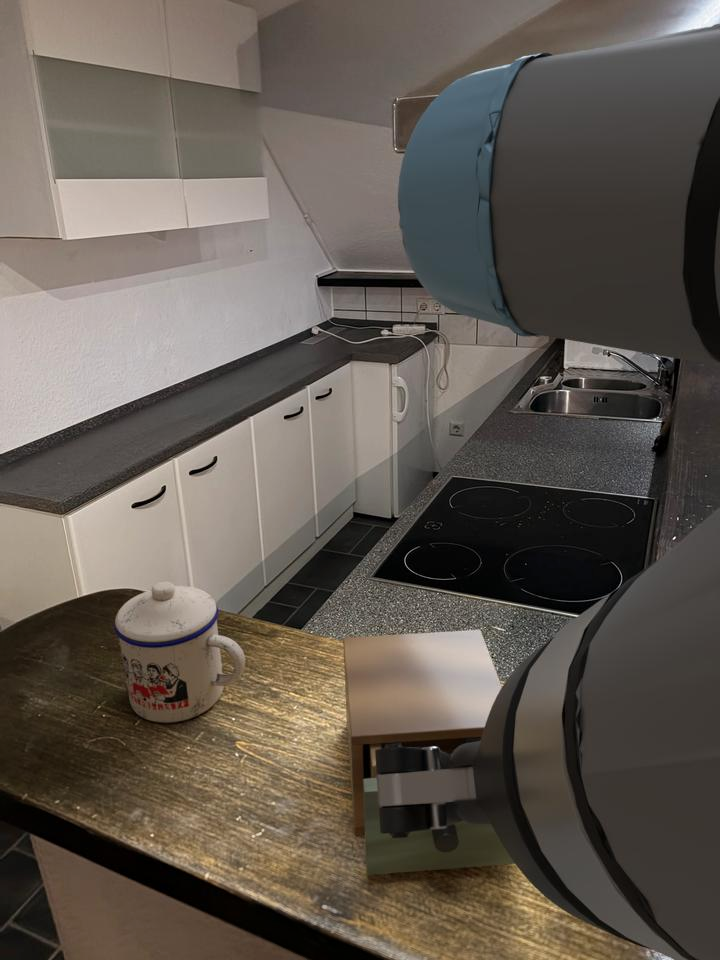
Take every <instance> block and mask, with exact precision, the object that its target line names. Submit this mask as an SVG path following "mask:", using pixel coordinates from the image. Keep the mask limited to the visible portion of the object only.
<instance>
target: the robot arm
mask: <svg viewBox="0 0 720 960" xmlns="http://www.w3.org/2000/svg"><path fill="white" fill-rule="evenodd" d="M400 166H401V167H400V171H399V177H398V187H397V209H398V214H399V221H398V227H399V229H400V232H401V237H402V245H403V249H404V252H405V256H406V258H407V261H408V263H409V266H410V268H411V269H412V271H413V274H414V275H415V277H416V279H417V280H418V282H419V283H420V285H421V286H422V288H423V289H424V290H425V291H426V292H427V293H428V294H429V295H430V296H431V297H432V298H433V299H434V300H435V301H436V302H437V303H439V305H442V306H444V307H445V308H447V309H448V310H450V311H452V312H453V313H456V314H458V315H461V316H465V317H469V318H473V319H476V320H480V321H483V322H487V323H491V324H495V325H498V326H501V327H506V328H509V330H511V331H512V332H513V334H516V335H517V336H519V337H525V338H526V337H528V338H529V337H536V338H540V337H541V336H544V337H549V338H554V339H559V340H560V339H561V340H567V341H572V342H578V343H583V344H591V345H597V346H601V347H608V348H614V349H620V350H625V351H631V352H636V353H643V354H649V355H654V356H661V357H666V358H670V359H671V358H672V359H678V360H684V361H690V362H695V363H702V364H707V365H713V366H720V23H715V24H713V25H711V26H704V27H699V28H692V29H687V30H682V31H678V32H677V31H676V32H672V33H668V34H663V35H656V36H653V37H648V38H643V39H642V38H641V39H638V40H633V41H627V42H622V43H616V44H611V45H605V46H601V47H595V48H589V49H584V50H583V49H582V50H576V51H571V52H566V53H561V54H555V55H553V54H552V53H549V52H541V53H537V54H529V55H523V56H522V57H519V58H516V59H514V61H512V62H511V63H510V64H505V65H500V66H496V67H492V68H488V69H483V70H479V71H475V72H473V73H470V74H467V75H465V76H463V77H460V78H458V79H456V80H455V81H454V82H452V83H451V84H449V85H448V86H446V87H445V88H444V89H443V90H442V91H441V92H440V93H439V94H438V95H437V96H436V97H435V98H434V99H433V100H432V101H431V102H430V104H429V105H428V106H427V108H426V109H425V111H424V112H423V114H422V115H421V116H420V118H419V120H418V121H417V123H416V125H415V126H414V129H413V130H412V132H411V135H410V138H409V139H408V142H407V145H406V147H405V151H404V154H403V158H402V161H401V165H400ZM375 757H376V773H377V774H380V775H377V790H378V806H379V807H380V806H382V808H379V819H380V833H390V835H392V838H405V837H408V834H410V832H414V831H422V830H430V829H431V830H432V829H446V828H447V826H453V825H455V823H458V822H461V821H463V820H464V821H465V822H467V823H470V824H491V825H492V827H493V828H494V830H495V832H496V834H497V836H498V838H499V839H500V841H501V843H502V844H503V846H504V848H505V849H506V851H507V853H508V854H509V856H510V857H511V859H512V860H513V861H514V863H515V864H514V865H515V866H516V867H517V869H518V870H519V871H520V872H521V874H522V875H523V876H524V877H525V878H526V879H527V881H529V883H530V884H531V885H532V886H533V887H534V888H535V889H536V890H537V891H538V892H539V893H540V894H541V895H543V897H545V898H546V899H548V900H549V901H550V902H551V903H553V904H554V905H555V906H557V907H558V908H560V909H561V910H562V911H564V912H566V913H567V914H569V915H570V916H572V917H574V918H576V919H578V920H579V921H582V922H584V923H585V924H586V923H587V924H588V925H591V926H593V927H595V928H597V929H600V930H601V931H604V932H606V933H607V934H610V935H612V936H614V937H617V938H618V939H621V940H624V941H626V942H629V943H631V944H633V945H635V946H638V947H640V948H645V949H649V950H653V951H655V952H657V953H658V954H661V955H664V956H665V957H668V958H670V959H672V960H720V506H719V507H718V508H717V509H716V510H715V511H714V512H712V513H711V514H710V515H709V516H708V517H706V518H705V519H704V520H702V521H701V522H700V524H698V525H697V526H696V527H695V528H694V529H692V530H691V531H690V532H689V533H688V534H686V536H685V537H683V538H682V539H681V540H680V541H679V542H677V543H676V544H675V545H674V546H673V547H671V548H670V549H669V550H668V551H667V552H666V553H665V554H664V555H662V557H660V558H659V559H656V560H655V561H653V562H652V563H650V564H649V565H648V566H646V567H645V568H644V569H643V570H641V571H639V572H638V573H637V574H635V575H634V576H631V577H630V578H629V579H627V580H626V581H625V582H624V583H623V584H622V585H620V586H619V587H617V588H616V589H614V590H613V591H611V592H610V593H608V594H607V595H606V596H604V597H603V598H602V599H600V600H599V601H597V602H596V603H594V604H593V605H592V606H590V607H589V608H588V609H586V610H585V611H583V612H582V613H580V614H579V615H577V616H576V617H574V619H572V620H570V621H569V622H568V623H566V624H565V625H563V626H562V627H561V628H560V629H559V630H558V631H557V632H556V634H555V635H554V636H552V637H551V638H550V639H549V640H548V641H547V642H545V643H544V644H543V645H541V646H540V647H539V648H537V649H536V650H535V651H533V652H532V653H530V654H529V656H527V657H526V658H525V659H524V660H523V661H521V663H520V664H519V665H518V666H516V668H515V669H514V670H512V673H511V674H510V675H509V676H508V678H506V680H505V682H504V683H503V684H502V688H501V689H500V691H499V693H498V695H497V697H496V699H495V701H494V703H493V705H492V708H491V710H490V713H489V716H488V718H487V721H486V724H485V727H484V731H483V734H482V738H477V739H466V743H465V744H462V745H460V746H459V747H457V748H456V749H455V750H454V751H453V753H452V754H451V755H449V754H447V753H445V752H443V751H441V750H440V748H439V747H424V748H417V747H403V746H401V743H394V744H386V747H384V749H377V750H375Z"/></svg>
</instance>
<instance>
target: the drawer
mask: <svg viewBox="0 0 720 960" xmlns="http://www.w3.org/2000/svg"><path fill="white" fill-rule="evenodd" d="M477 738H482V737H468V738H453V739H437V740H422V741H407V742H392V743H377V744H365V755H366V766H367V776H368V778H367V779H363V795H364V827H365V835H364V849H365V850H364V855H365V869H366V875H368V876H369V875H382V874H384V875H385V874H396V873H397V874H398V873H409V872H411V873H412V872H423V871H436V870H437V871H438V870H449V869H452V870H453V869H463V868H465V869H466V868H476V867H477V868H478V867H490V866H503V865H505V866H506V865H516V864H515V863H514V861H513V860H512V859H511V857H510V856H509V854H508V853H507V851H506V849H505V848H504V846H503V844H502V843H501V841H500V839H499V838H498V836H497V834H496V832H495V830H494V828H493V827H492V825H491V824H470V823H467V822H465V821H464V820H463V821H461V822H458V823H455V825H453V826H447V828H446V829H432V830H431V829H430V830H422V831H414V832H410V834H408V837H405V838H392V835H390V833H380V819H379V808H382V806H380V807H379V806H378V790H377V775H380V774H377V773H376V757H375V750H377V749H384V747H386V744H394V743H401V746H403V747H417V748H424V747H439V748H440V750H441V751H443V752H445V753H447V754H449V755H451V754H452V753H453V751H454V750H455V749H456V748H457V747H459V746H460V745H462V744H465V743H466V739H477Z"/></svg>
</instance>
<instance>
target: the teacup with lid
mask: <svg viewBox="0 0 720 960" xmlns="http://www.w3.org/2000/svg"><path fill="white" fill-rule="evenodd" d="M218 617H219V608H218V605H217V603H216V600H215V599H214V598H213V597H212V595H210V593H208V592H207V591H204V590H202V589H199V588H197V587H192V586H186V585H175V584H173V583H172V582H170V581H167V580H165V581H159V582H157V583H155V584H154V585H152V587H151V589H149V590H145V591H143V592H142V593H139V594H137V595H136V596H134V597H132V598H130V599H129V600H128V601H126V602H125V603H124V604H123V605H122V606H121V607H120V608H119V610H118V611H117V613H116V615H115V620H114V625H113V627H114V628H113V629H114V632H115V634H116V636H117V637H118V639H119V646H120V652H121V657H122V663H123V668H124V669H123V670H124V675H125V682H126V687H127V693H128V699H129V704H130V705H131V706H130V707H131V709H132V710H133V711H134V712H135V713H136V714H137V716H139V717H141V718H143V719H144V720H148V721H151V722H155V723H164V724H165V723H178V722H183V721H186V720H190V719H192V718H195V717H198V716H199V715H201V714H203V713H205V712H206V711H208V710H209V709H211V708H213V706H214V705H215V704H216V703H217V702H218V701H219V699H220V698H221V696H222V694H223V692H224V687H229V686H233V685H234V684H235V683H237V682H238V680H239V679H240V678H241V677H242V675H243V674H244V672H245V668H246V656H245V653H244V651H243V649H242V647H241V646H240V645H239V644H238V643H237V641H235V640H233V639H232V638H230V637H227V636H224V635H220V634H219V629H218V620H217V619H218ZM221 650H223V651H225V652H226V653H227V654H228V655H229V656H230V657H231V659H232V662H233V673H230V674H229V673H228V674H226V673H225V674H224V673H223V664H222V656H221V655H222V654H221Z"/></svg>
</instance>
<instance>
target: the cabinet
mask: <svg viewBox="0 0 720 960" xmlns="http://www.w3.org/2000/svg"><path fill="white" fill-rule="evenodd" d="M342 641H343V643H342V644H343V664H344V665H343V667H344V690H345V691H344V692H345V715H346V716H345V717H346V718H345V719H346V732H347V733H346V735H347V747H348V762H349V774H350V775H349V776H350V791H351V803H352V816H353V817H352V818H353V829H354V836H356V837H357V836H365V827H364V795H363V779H367V778H368V776H367V766H366V755H365V744H377V743H392V742H407V741H422V740H437V739H453V738H468V737H482V734H483V731H484V727H485V724H486V721H487V718H488V716H489V713H490V710H491V708H492V705H493V703H494V701H495V699H496V697H497V695H498V693H499V691H500V689H501V688H502V686H503V684H502V682H501V679H500V677H499V674H498V671H497V669H496V666H495V664H494V661H493V658H492V656H491V654H490V651H489V649H488V648H489V647H488V645H487V642H486V639H485V638H484V635H483V632H482V630H481V629H467V630H452V631H451V630H449V631H434V632H433V631H431V632H417V633H401V634H399V633H398V634H383V635H365V636H350V637H343V639H342Z"/></svg>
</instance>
